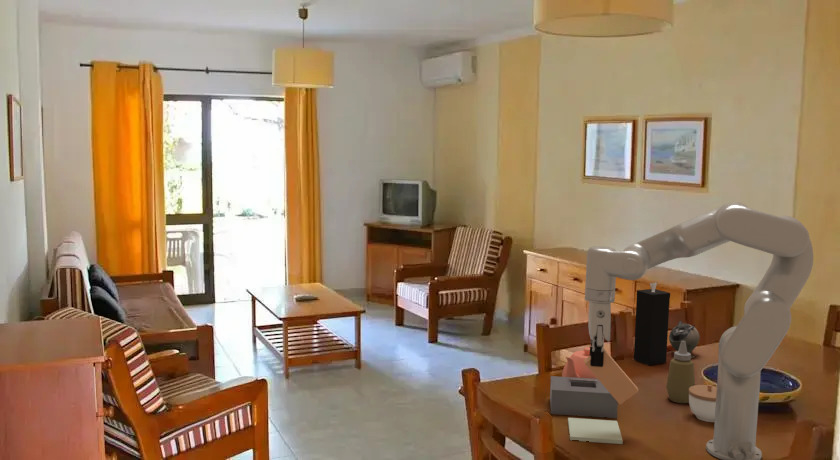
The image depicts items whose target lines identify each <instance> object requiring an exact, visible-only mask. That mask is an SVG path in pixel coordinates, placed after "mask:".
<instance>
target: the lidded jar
mask: <svg viewBox="0 0 840 460" xmlns="http://www.w3.org/2000/svg"><path fill="white" fill-rule="evenodd" d="M716 392H717V385H716V386H715V385H711V384H695V386H691V387H690V388H689V403H688V404H689V408H690V410H691V412H692V413H693V415H695V417H696V419H698V420H700V421H703V422H707V423H715V407H716Z"/></svg>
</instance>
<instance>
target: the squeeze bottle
mask: <svg viewBox="0 0 840 460" xmlns="http://www.w3.org/2000/svg"><path fill="white" fill-rule="evenodd" d="M691 355H692V353H691V354H690V353H688V352H687V348H686V342H685V341H681V343H680V347H679V350H678V351H676V350H675V351H674V352H673V358H672V359H670V363H669V367H668V368H669V369H668V374H667V381H666V386H665V388H666V391H667V395H668V398H669V400H670V401H671V402H674V403H678V404H689V388H690V387H691V386H695V385H696V381H695V380H696V379H695V363H694V362H693V361H692V360H691V359H692V358H691Z"/></svg>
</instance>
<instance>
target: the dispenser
mask: <svg viewBox="0 0 840 460" xmlns="http://www.w3.org/2000/svg"><path fill="white" fill-rule="evenodd" d="M549 386H550V389H549V390H550V392H549V394H550V395H549V402H550V414H551V415H562V416H563V415H564V416H576V415H577V416H576V417H589V416H590V417H591V416H592V417H591V418H593V417H594V418H604V417H607V419H608V418H609V419H618V408H619V407H618V405H619V403H618V402H617V401H616V400H615V398H614V397H613V396H612V395H611V394H610V392H609V391H608V390H607V389H606V388H605V387H604V385H603V384H602V383H601V382H600V381H599V380H598V379H591V378H574V377H562V376H554V375H550V385H549Z"/></svg>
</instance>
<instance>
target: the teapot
mask: <svg viewBox="0 0 840 460" xmlns="http://www.w3.org/2000/svg"><path fill="white" fill-rule="evenodd" d="M589 356H590V347H588V346H587V347H586V346H585V347H583V350H576V351H574V352H573V353H571V356H570V357H568V356H565V359H566V363H565V364H564V367H563V369H562V373H561V377H574V378H591V379H598V378H597V377H596V376H595V375H594V374H593V373H592V371H591V370H590V369H589V368H588V367H587V366H586V364H585V362H584V360H585V359H586V358H588V357H589Z"/></svg>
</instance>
